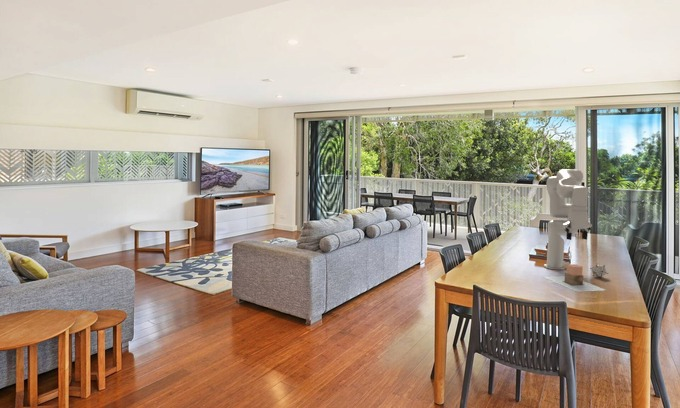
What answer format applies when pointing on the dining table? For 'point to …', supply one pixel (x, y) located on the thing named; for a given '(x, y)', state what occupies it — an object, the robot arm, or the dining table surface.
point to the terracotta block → (574, 270)
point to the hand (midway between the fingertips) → (576, 239)
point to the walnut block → (573, 279)
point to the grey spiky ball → (599, 270)
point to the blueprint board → (577, 288)
